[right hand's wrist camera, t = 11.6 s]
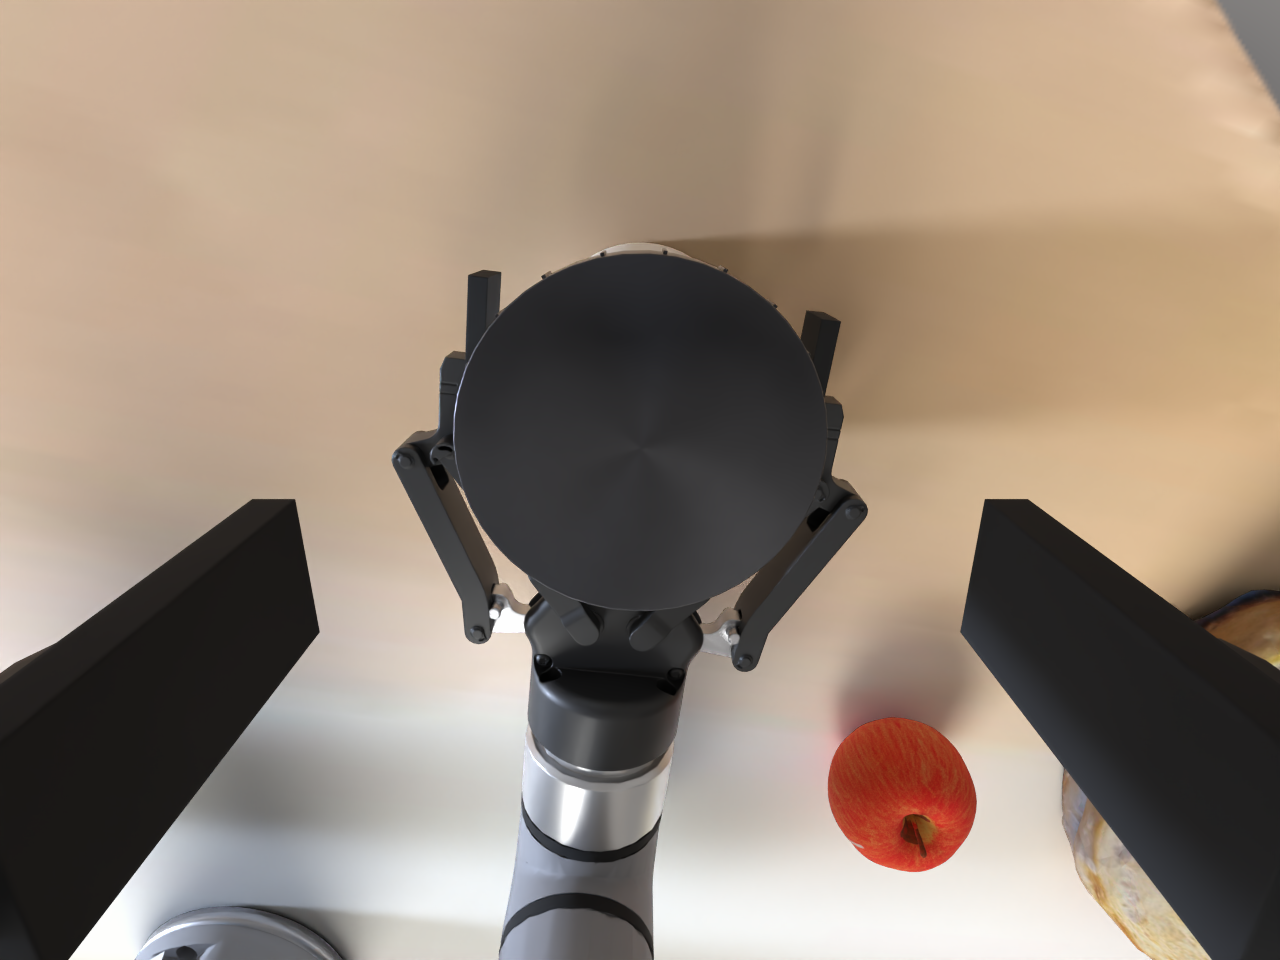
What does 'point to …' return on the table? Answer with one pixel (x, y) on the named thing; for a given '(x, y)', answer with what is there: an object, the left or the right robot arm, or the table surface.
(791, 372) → the lid
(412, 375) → the table surface
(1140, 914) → the bread
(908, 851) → the apple
